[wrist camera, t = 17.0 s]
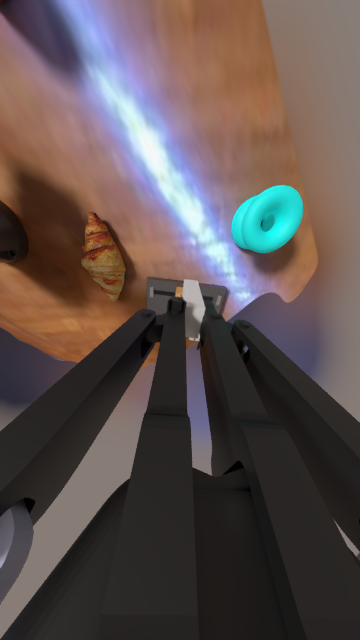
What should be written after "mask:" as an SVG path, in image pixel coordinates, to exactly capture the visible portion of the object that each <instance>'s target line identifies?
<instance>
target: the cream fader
mask: <svg viewBox="0 0 360 640" xmlns="http://www.w3.org/2000/svg"><path fill="white" fill-rule="evenodd" d="M199 339H200V333H199V337H198V338H189V340H194V341H199Z"/></svg>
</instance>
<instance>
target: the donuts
mask: <svg viewBox="0 0 360 640" xmlns="http://www.w3.org/2000/svg"><path fill="white" fill-rule="evenodd" d="M302 215H303V202H302V199H301V196H300V195H299V193H298V192H297V191H296V190H295V189H294V188H292V187H290V186H285V185H278V186H274V187H271V188H269V189H267V190H265V191H263V192H262V193H260V194H259V195H257V196H254V197H251V198H249V199H248V200H246V201H245V202H244V203H243V204H242V205H241V206H240V207H239V208H238V210H237V211H236V213H235V215H234V218H233V221H232V226H231V233H232V237H233V240H234V242H235V243H236V244H237V245H238V246H239V247H241V248H243V249H250V250H252V251H254V252H257V253H268V252H272V251H275V250H277V249H279V248H280V247H282V246H283V245H285V244H286V243H287V242H288V241H289V240H290V239H291V238H292V237H293V235H294V234H295V232H296V231H297V229H298V227H299V225H300V223H301V220H302ZM261 222H262V226H261Z"/></svg>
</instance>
